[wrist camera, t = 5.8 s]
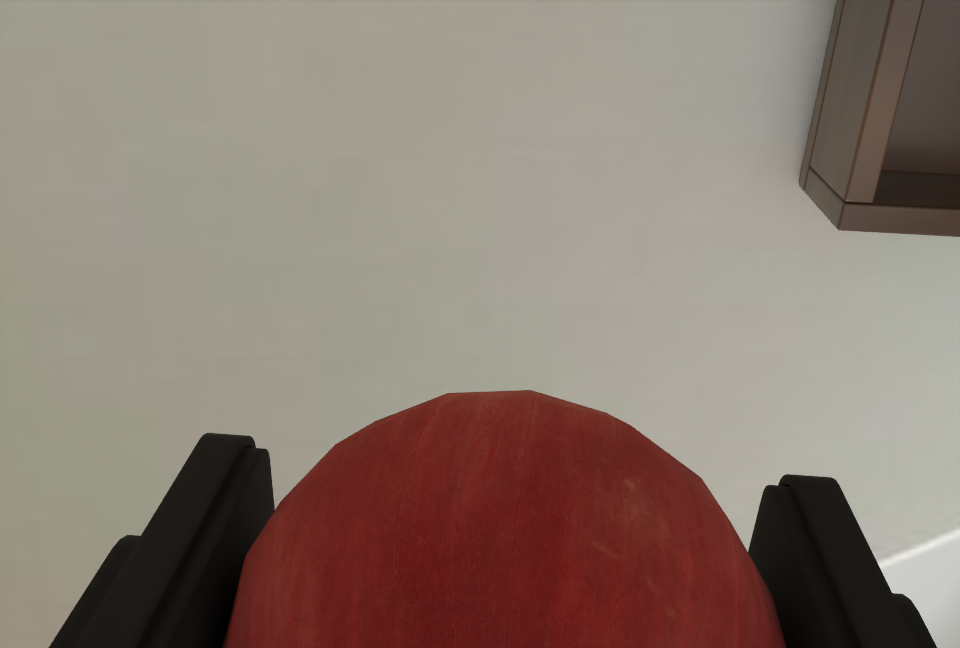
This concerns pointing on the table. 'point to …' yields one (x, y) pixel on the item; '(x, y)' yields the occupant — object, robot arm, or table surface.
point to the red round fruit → (500, 540)
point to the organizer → (888, 119)
